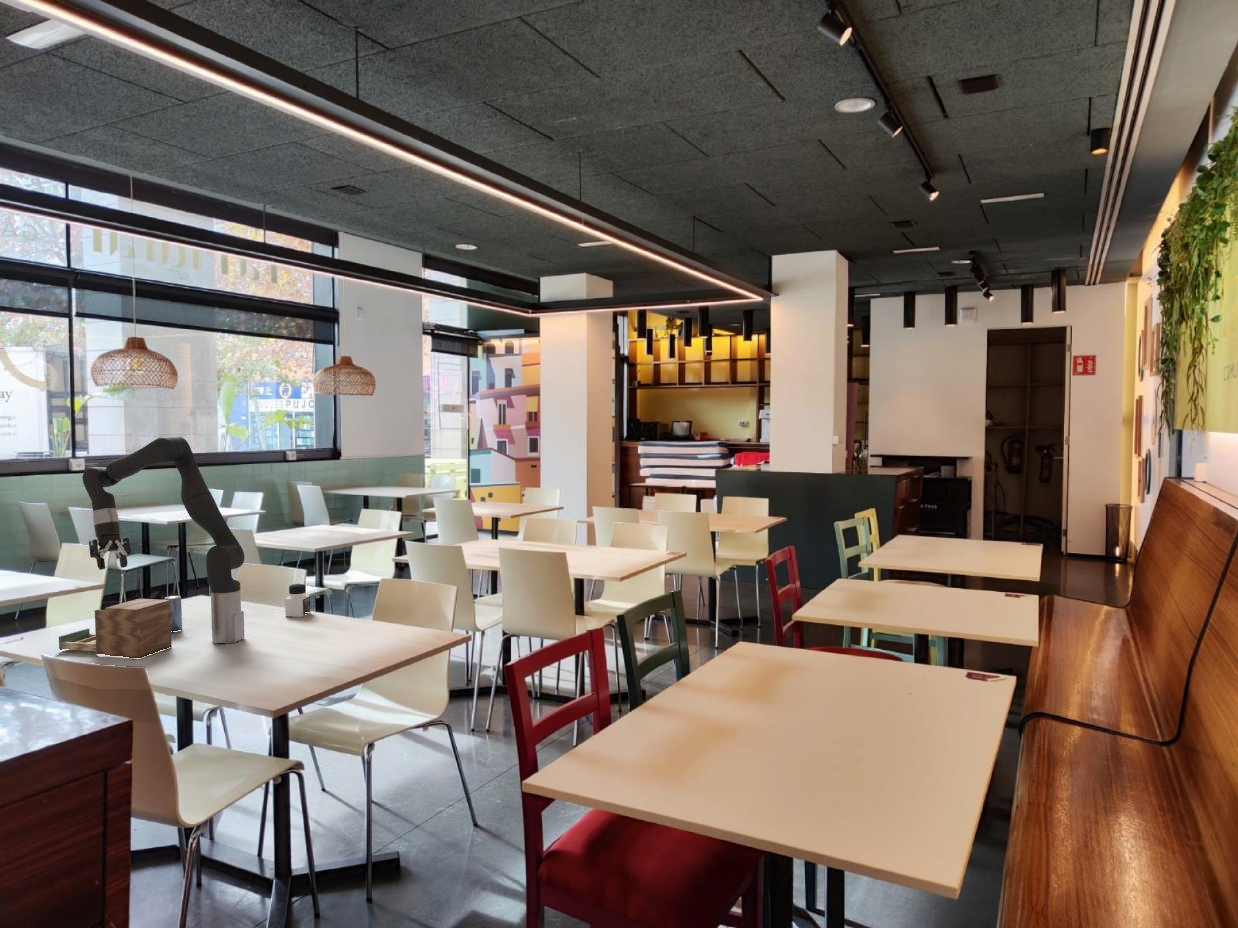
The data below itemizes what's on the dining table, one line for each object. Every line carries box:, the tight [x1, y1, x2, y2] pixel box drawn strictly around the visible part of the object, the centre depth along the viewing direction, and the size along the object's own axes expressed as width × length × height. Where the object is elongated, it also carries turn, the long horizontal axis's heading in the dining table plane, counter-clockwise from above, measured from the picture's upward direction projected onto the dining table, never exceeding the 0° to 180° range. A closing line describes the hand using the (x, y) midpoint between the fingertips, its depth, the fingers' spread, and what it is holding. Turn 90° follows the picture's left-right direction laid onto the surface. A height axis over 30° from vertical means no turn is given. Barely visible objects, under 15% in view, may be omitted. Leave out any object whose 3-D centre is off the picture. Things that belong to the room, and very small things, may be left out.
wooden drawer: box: [58, 628, 96, 652], centre depth 278 cm, size 17×11×5 cm, turn 77°
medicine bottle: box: [284, 583, 311, 617], centre depth 325 cm, size 7×7×12 cm
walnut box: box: [94, 598, 173, 659], centre depth 274 cm, size 16×14×16 cm
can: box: [163, 595, 183, 632], centre depth 301 cm, size 5×5×12 cm
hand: (113, 568), depth 294 cm, fingers open, 8 cm apart
